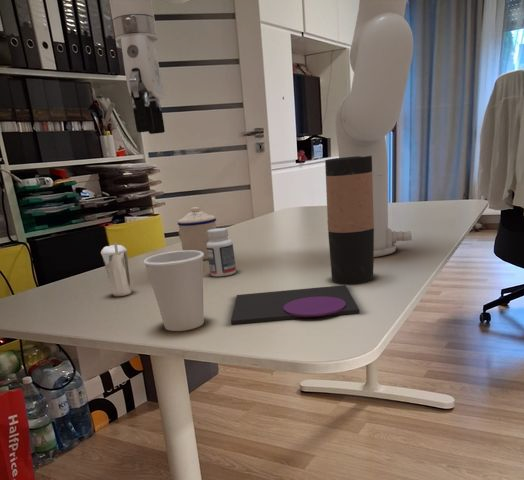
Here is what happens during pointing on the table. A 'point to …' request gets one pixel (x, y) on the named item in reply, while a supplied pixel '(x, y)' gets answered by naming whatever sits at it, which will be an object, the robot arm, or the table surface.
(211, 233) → the pill bottle
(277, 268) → the table surface
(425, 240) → the table surface
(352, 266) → the travel mug
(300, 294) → the placemat
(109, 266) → the milkshake
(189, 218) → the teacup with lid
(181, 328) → the dixie cup
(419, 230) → the table surface
